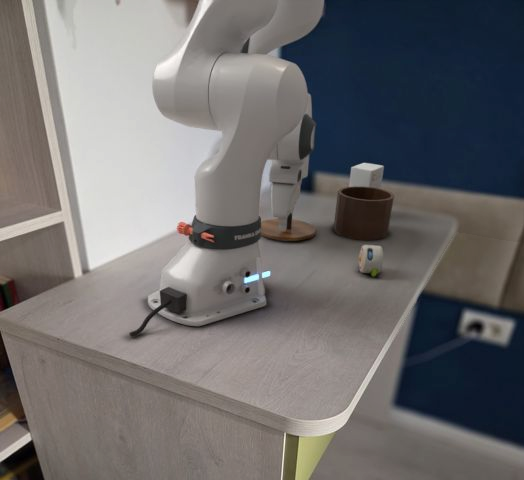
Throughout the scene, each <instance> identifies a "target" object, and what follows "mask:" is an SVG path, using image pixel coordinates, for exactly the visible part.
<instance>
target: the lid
mask: <svg viewBox="0 0 524 480" xmlns="http://www.w3.org/2000/svg"><path fill="white" fill-rule="evenodd" d="M261 227H262V230H261V236H262V237H265V238H267V239H272V240H275V241H285V242H286V241H288V242H289V241H290V242H291V241H292V242H293V241H295V242H296V241H304V240H308V239H310V238H312V237H314V236H315V235H316V227H315V226H314V225H313V224H311V223H309V222H307V221H303V220H299V219H294V218H293V216H292V213H290V214H289V216H288V217H287V229H286V231H285V232H283V231H279V221H278V218H270V219H267V220H262V221H261Z"/></svg>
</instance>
